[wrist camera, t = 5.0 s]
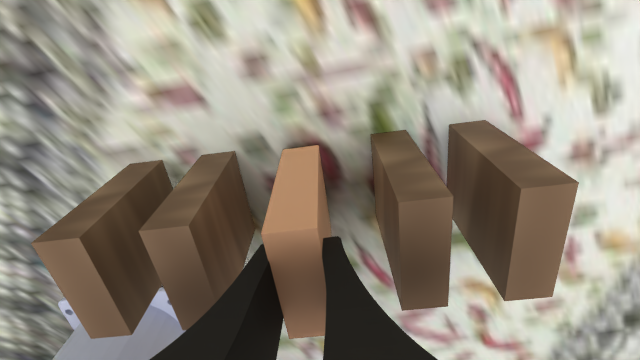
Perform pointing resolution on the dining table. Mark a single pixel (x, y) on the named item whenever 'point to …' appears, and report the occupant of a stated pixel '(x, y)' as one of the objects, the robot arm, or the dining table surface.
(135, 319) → the domino
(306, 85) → the dining table surface
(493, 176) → the domino
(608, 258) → the dining table surface
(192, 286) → the domino
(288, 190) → the domino
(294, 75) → the dining table surface
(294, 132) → the dining table surface
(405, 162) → the domino
